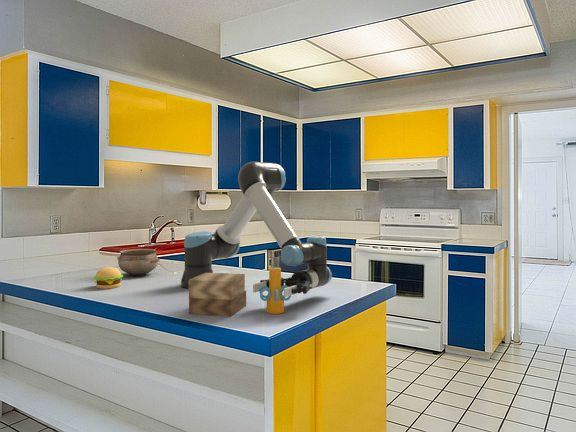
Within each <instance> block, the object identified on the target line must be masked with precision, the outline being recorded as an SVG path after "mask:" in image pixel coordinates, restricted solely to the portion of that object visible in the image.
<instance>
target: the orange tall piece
mask: <svg viewBox="0 0 576 432" xmlns="http://www.w3.org/2000/svg"><path fill="white" fill-rule="evenodd" d="M268 272H269V273H268V275H269V276H268V277H269V278H268V279H269V287H267V286H262V287H261V288H260V291H259V297H260V299H261V300H262V302H263V301H264V302H266V313H268V314H271V315H280V314H283V313H284V312H285V301H290V299H291V298H292V295H291V296H288V297H284V294H283V293H284V288H288V286H286V285H285V284H284V286H282V287H281V277H282V268H281V267H276V266H275V267H269V268H268ZM263 288H264V289H263ZM262 289H263V290H262ZM265 291H267V292H268V293H267V295H264V292H265Z"/></svg>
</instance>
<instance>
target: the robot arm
mask: <svg viewBox="0 0 576 432" xmlns="http://www.w3.org/2000/svg"><path fill="white" fill-rule="evenodd" d="M237 180H238V181H237V182H238V186H239V189H240V191H241V193H242V197H241V198H240V200H239V201H238V202H237V204H236V206H235V207H234V209H233V210H232V212H231V213H230V215H229V216H228V218H227V220H225V223H224V224H223V225H219V226H218V227H217V228H216V230H215V232H213V233H212V232H210V231H204V230H203V231H195V232H191V233H187V234H186V235H185V236H184V243H183V246H184V270H183V274H182V276H181V281H180V287H181V288H184V289H189V280H190V279H192V278H194V277H196V276H199V275H201V274H203V273H214V270H213V267H212V264H213V263H212V261H214V260H221V259H228V258H232V257H234V256H235V255H236V254H237V253H239V250H240V247H241V246H240V245H241V234H242V232H243V231H244V230H245V228H246V226H247V225H248V224H249V222H250V221H251V219H252V218H253V217H254V215H255V214H256V212H257V213H258V214H259V216H260V218H261V219H262V221H263V223H265V226H266V227H267V229H268V230H269V232H270V233H271V235H272V237H273V238H274V239H275V241H276V242H277V244H278V246H279V247H280V249H281V250H280V259H281V262H282V263H283V264H284V265H286V266H287V267H291V266H294V267H295V266H296V267H297V266H300V265H304V264H307V269H304V270H299V271H296V272H294V273H292V275H291V276H290V277H287V278H284V277H282V276H281V287H282V286H284V285H286V286H288V288H284V291H283V295H284V297H285V298H288V297H289V296H291V297H292V296H294V295H297V294H298V295H299V294H302V293H303V294H304V295H306V294H307V293H308V292H310V290H313V289H316V288H318V287H319V288H320V287H323V286H325V285H327V284H329V283H330V282H331V281H332V279H333V278H332V277H333V273H332V271H331V269H330V267H328V262H327V261H328V260H327V259H328V258H327V257H328V253H327V251H328V247H327V238H326V237H325V236H308V237H307V238H306V242H304V243H302V241H301V240H300V239H299V237H298V235H297V234H296V232H295V231H294V229H293V228H292V226H291V225H290V223H289V221H288V220H287V219H286V217H285V215H284V214H283V212H282V211H281V209H280V208H279V207H278V205H277V203H276V201H275V200H274V199H273V197H272V195H273V194H274V192H278V191H280V190H283V188H284V187H285V185H286V180H287V177H286V171H285V170H284V167H282V166H281V165H280V164H278V163H274V162H261V161H250V162H249V161H248V162H246V163H245V164H244V165H243V166H242V167H241V168H240V170H239V172H238V176H237ZM262 286H267V287H269V278H268V279H261V280H259V282H257V283H253V284H252V292H253V293H258V292H260V288H261V287H262ZM263 289H264V288H263ZM263 289H262V290H263Z"/></svg>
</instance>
